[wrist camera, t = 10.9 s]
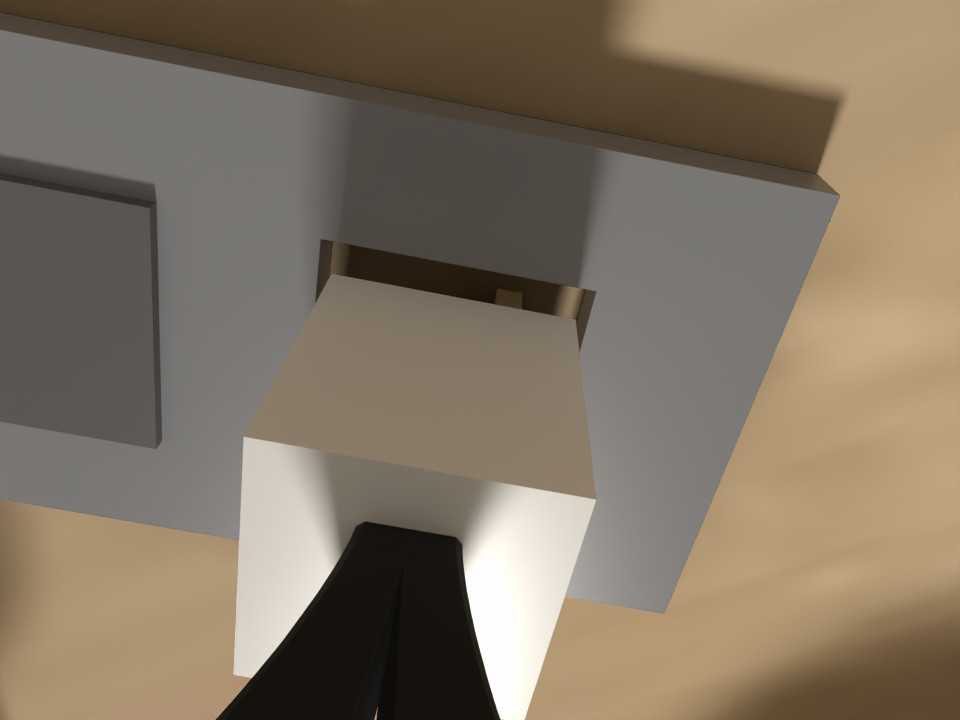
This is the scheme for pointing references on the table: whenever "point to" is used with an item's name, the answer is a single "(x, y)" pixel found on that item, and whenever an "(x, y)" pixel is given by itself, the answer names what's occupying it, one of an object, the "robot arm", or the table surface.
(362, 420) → the plug
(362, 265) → the table surface
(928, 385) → the table surface
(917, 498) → the table surface
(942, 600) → the table surface
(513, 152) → the socket strip
